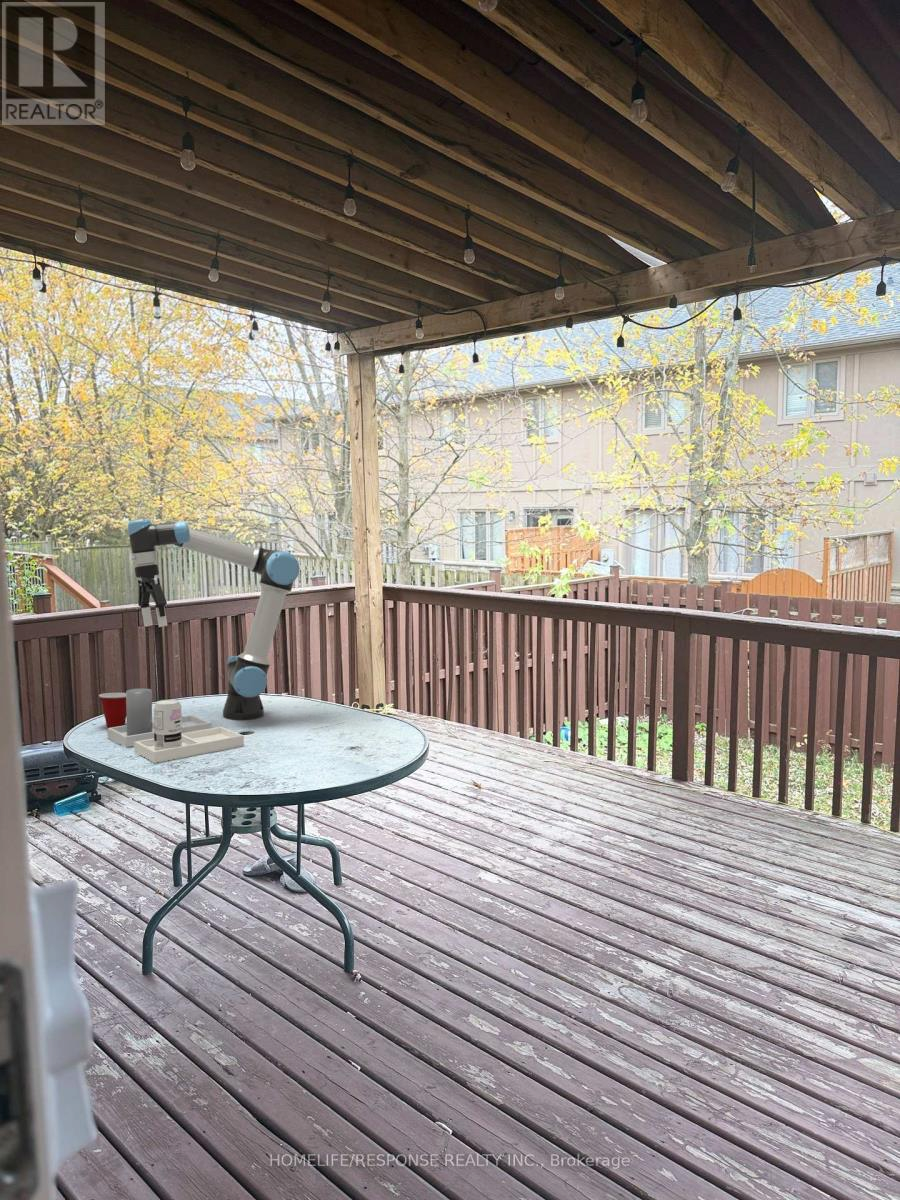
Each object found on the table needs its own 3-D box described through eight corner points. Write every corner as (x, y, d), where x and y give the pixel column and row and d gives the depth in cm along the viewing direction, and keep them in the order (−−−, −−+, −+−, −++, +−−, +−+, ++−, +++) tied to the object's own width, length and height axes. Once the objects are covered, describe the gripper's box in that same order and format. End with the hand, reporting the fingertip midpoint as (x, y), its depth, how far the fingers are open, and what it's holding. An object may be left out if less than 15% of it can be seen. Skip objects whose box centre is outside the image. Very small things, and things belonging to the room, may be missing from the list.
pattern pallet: (192, 724, 289) (191, 679, 287) (211, 732, 278) (211, 685, 276) (107, 738, 268) (106, 690, 267) (125, 747, 257) (124, 697, 256)
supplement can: (158, 745, 256) (157, 699, 254) (184, 744, 257) (184, 699, 255) (151, 752, 248) (150, 704, 246) (178, 752, 248) (177, 704, 247)
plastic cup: (138, 723, 288) (137, 691, 287) (123, 731, 277) (122, 697, 276) (109, 722, 289) (108, 689, 288) (93, 729, 278) (92, 696, 277)
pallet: (221, 736, 273) (221, 726, 273) (243, 745, 262) (243, 735, 262) (134, 752, 252) (134, 741, 252) (154, 763, 241) (154, 752, 241)
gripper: (122, 568, 280) (132, 627, 281) (148, 564, 261) (158, 628, 262) (143, 565, 284) (153, 623, 286) (170, 561, 265) (180, 624, 267)
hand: (155, 626), depth 274 cm, fingers open, 13 cm apart
